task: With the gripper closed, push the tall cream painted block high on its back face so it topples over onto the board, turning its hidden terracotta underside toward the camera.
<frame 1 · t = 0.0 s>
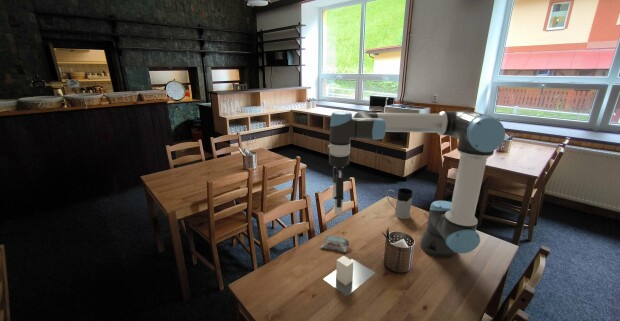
hand: (336, 205, 113), 28 cm above the table, fingers open, 13 cm apart
packaged food: (335, 248, 133), on the table
block: (344, 280, 111), point 1 cm above the table, touching board
board: (349, 278, 114), on the table
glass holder: (397, 214, 164), on the table
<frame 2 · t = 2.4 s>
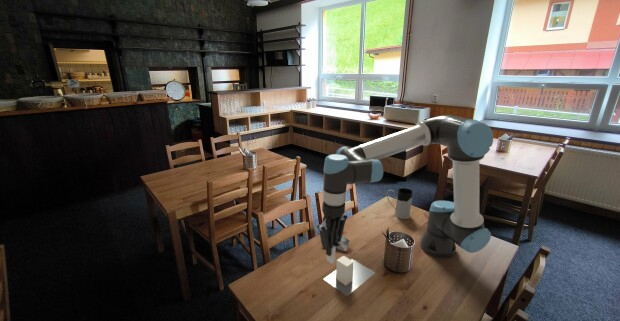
hand: (330, 261, 102), 14 cm above the table, fingers closed
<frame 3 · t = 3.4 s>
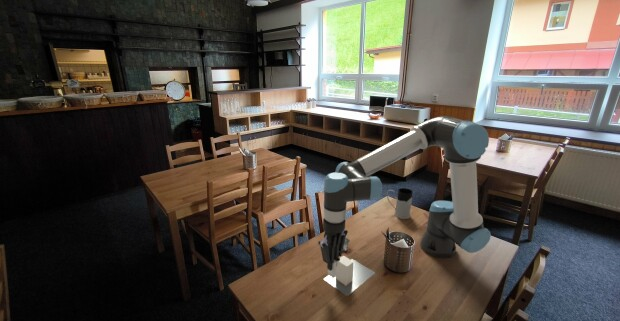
hand: (331, 275, 104), 8 cm above the table, fingers closed
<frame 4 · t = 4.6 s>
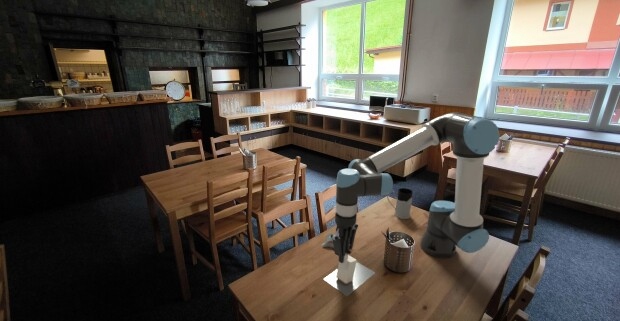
hand: (342, 267, 108), 8 cm above the table, fingers closed
block: (344, 279, 111), point 2 cm above the table, tilted 13°, touching board
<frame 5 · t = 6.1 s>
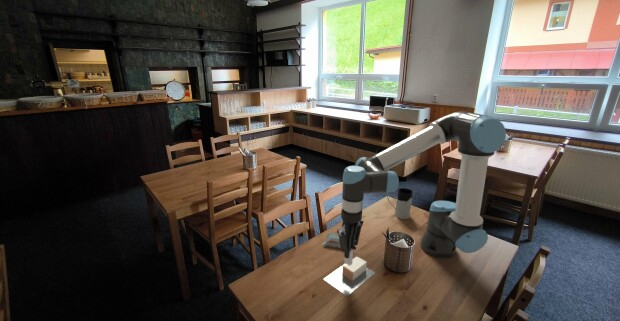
hand: (348, 263, 110), 8 cm above the table, fingers closed
block: (347, 273, 112), point 3 cm above the table, tilted 90°, touching board
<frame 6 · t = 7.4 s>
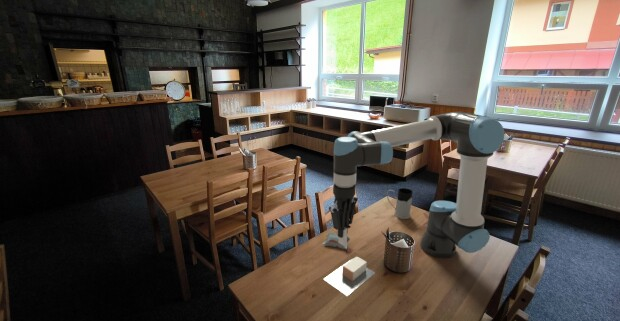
hand: (342, 243, 103), 19 cm above the table, fingers closed
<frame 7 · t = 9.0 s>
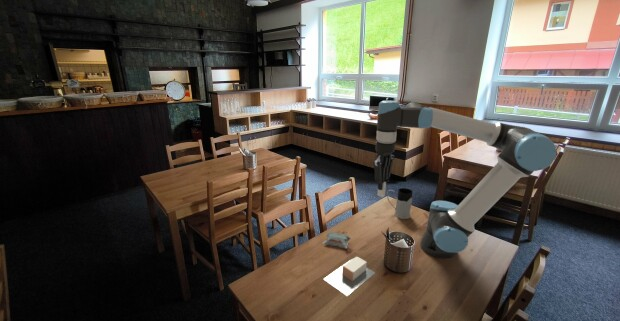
hand: (381, 195, 119), 29 cm above the table, fingers closed
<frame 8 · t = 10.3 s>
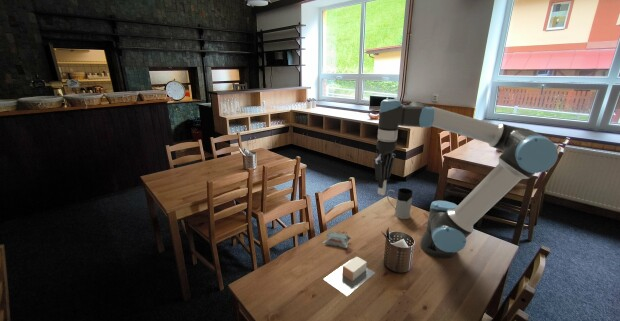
hand: (381, 194, 120), 29 cm above the table, fingers closed
at the end: block tilted 90°; block inside the target area on the board (4.4 cm from its centre), point 3.2 cm above the board's base; block touching board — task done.
